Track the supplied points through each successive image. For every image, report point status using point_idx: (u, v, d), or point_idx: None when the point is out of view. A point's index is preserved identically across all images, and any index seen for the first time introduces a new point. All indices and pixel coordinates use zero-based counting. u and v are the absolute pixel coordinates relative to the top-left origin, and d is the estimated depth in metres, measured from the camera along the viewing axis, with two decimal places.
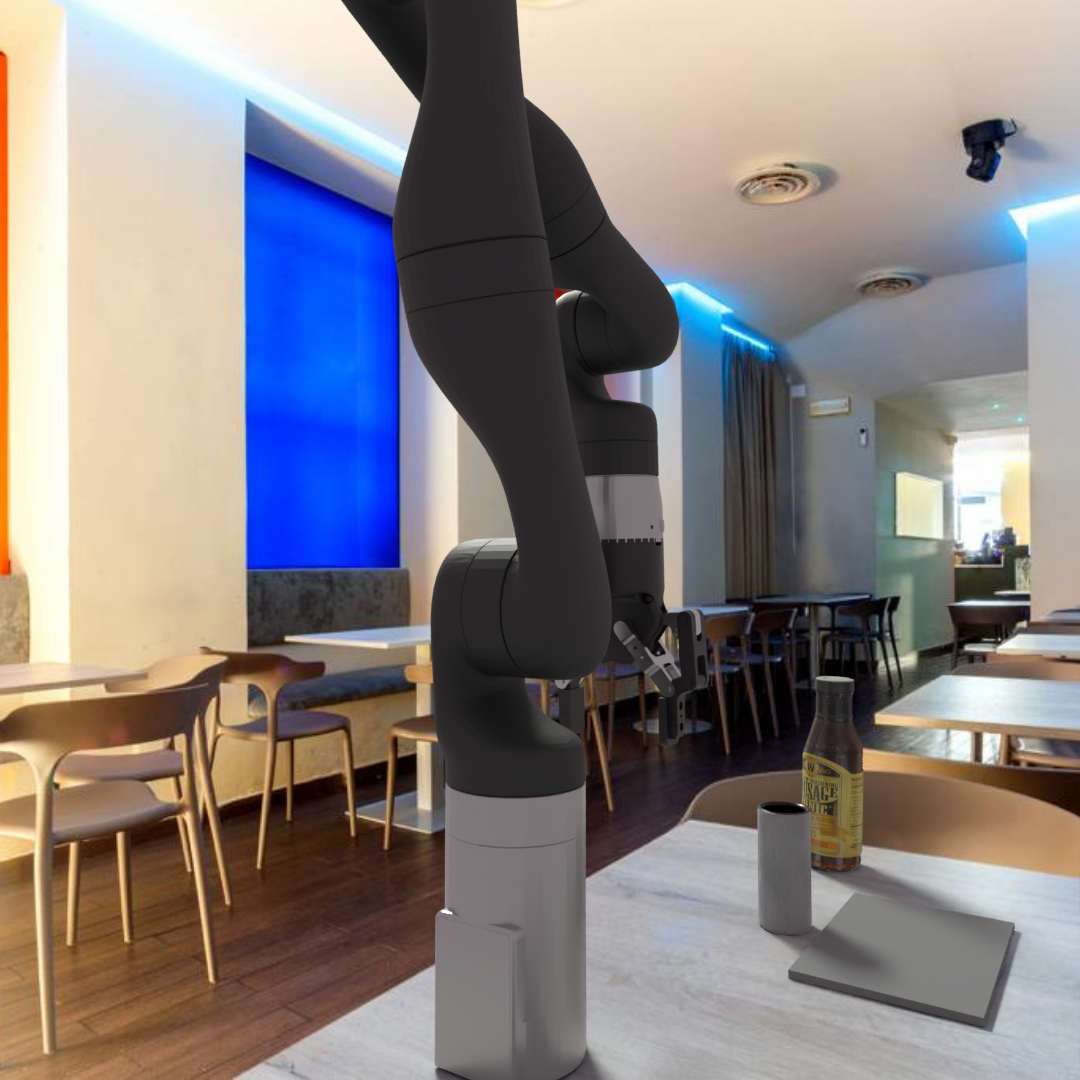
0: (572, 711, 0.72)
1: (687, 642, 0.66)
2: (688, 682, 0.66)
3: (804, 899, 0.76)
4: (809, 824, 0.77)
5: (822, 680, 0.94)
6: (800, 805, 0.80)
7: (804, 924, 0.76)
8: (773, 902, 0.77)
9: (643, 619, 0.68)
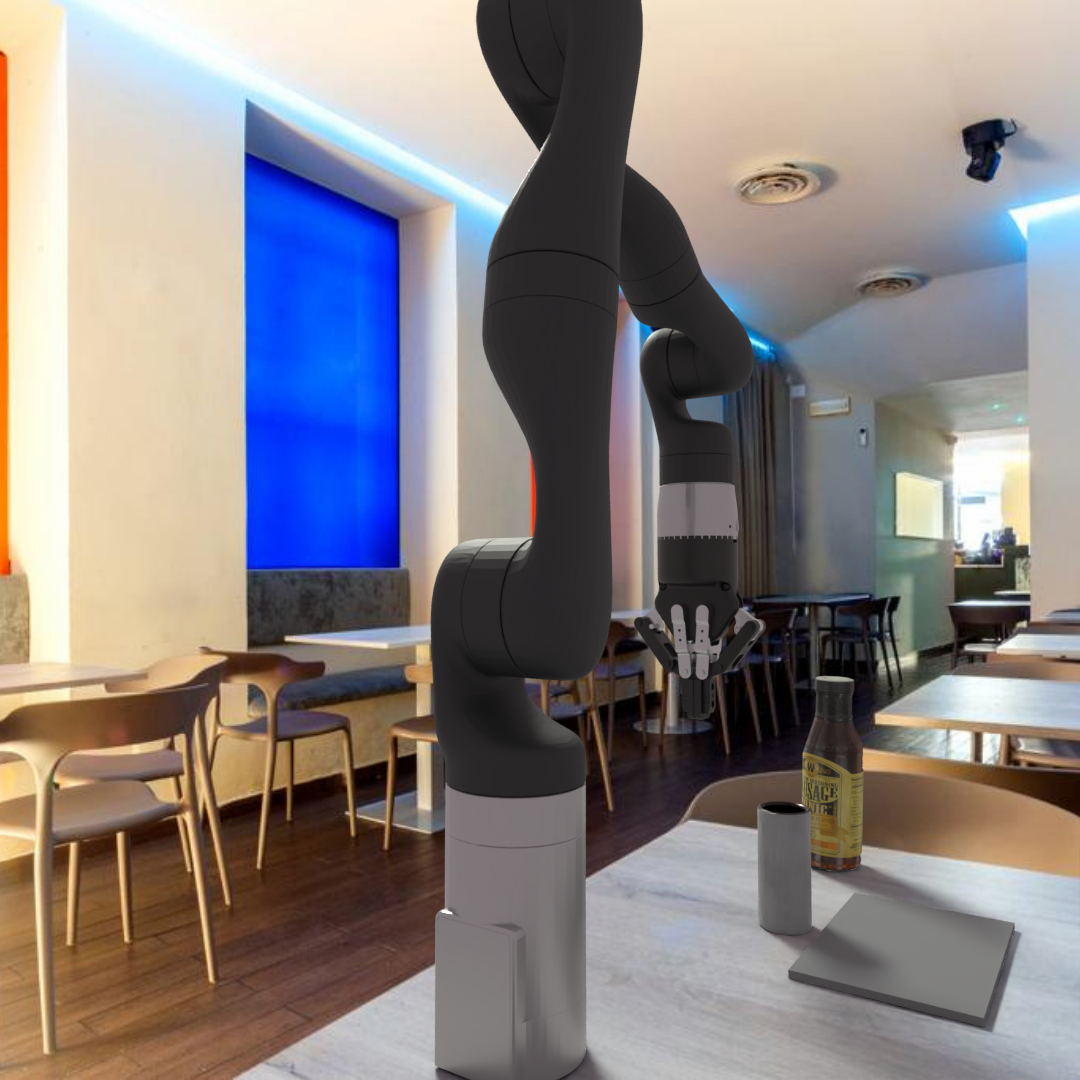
0: (694, 698, 0.83)
1: (740, 642, 0.80)
2: (719, 667, 0.81)
3: (804, 899, 0.76)
4: (809, 824, 0.77)
5: (822, 680, 0.94)
6: (800, 805, 0.80)
7: (804, 924, 0.76)
8: (773, 902, 0.77)
9: (722, 602, 0.81)
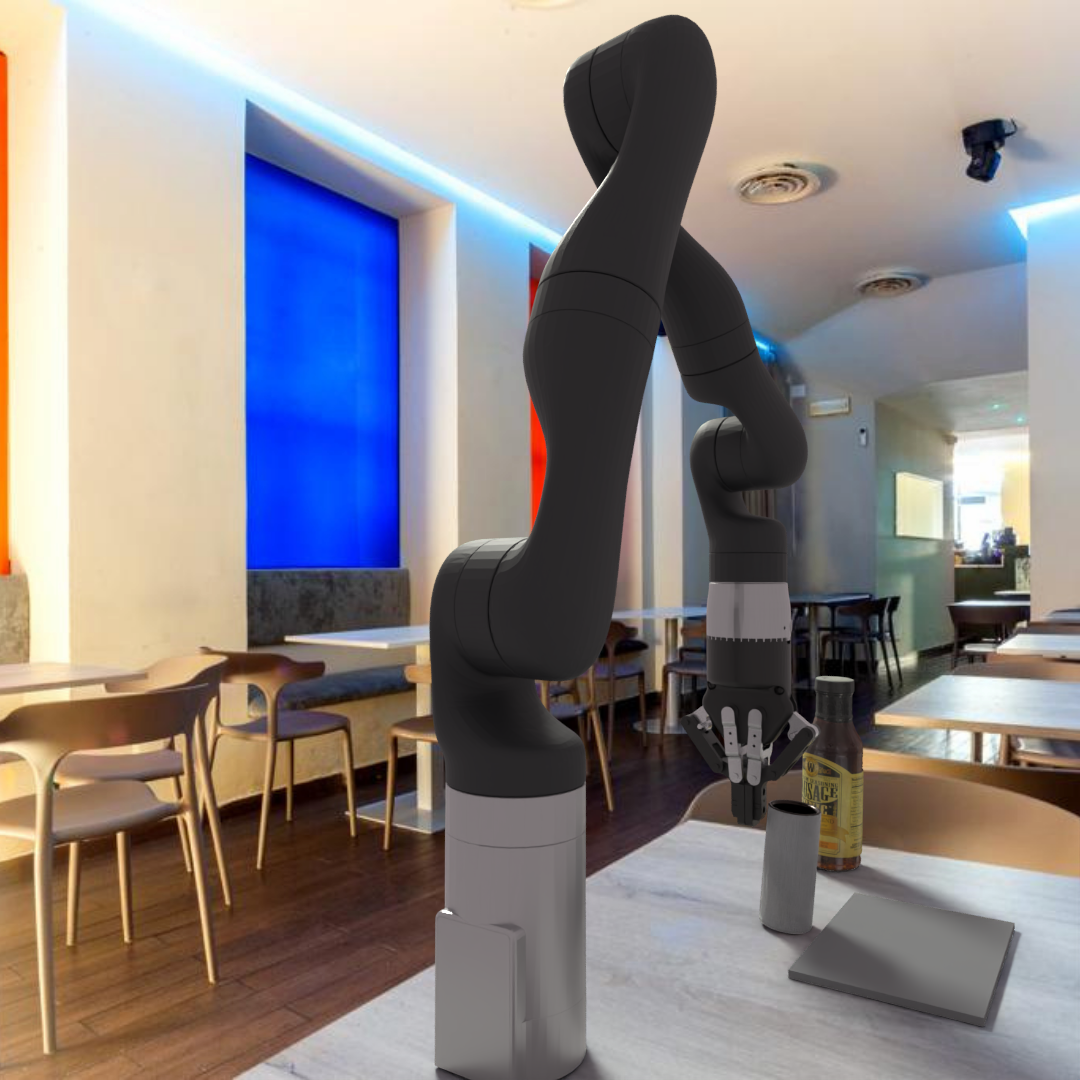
0: (745, 803, 0.80)
1: (795, 750, 0.77)
2: (773, 774, 0.78)
3: (807, 899, 0.76)
4: (819, 826, 0.77)
5: (822, 680, 0.94)
6: (811, 806, 0.79)
7: (805, 924, 0.76)
8: (776, 900, 0.77)
9: (776, 706, 0.79)
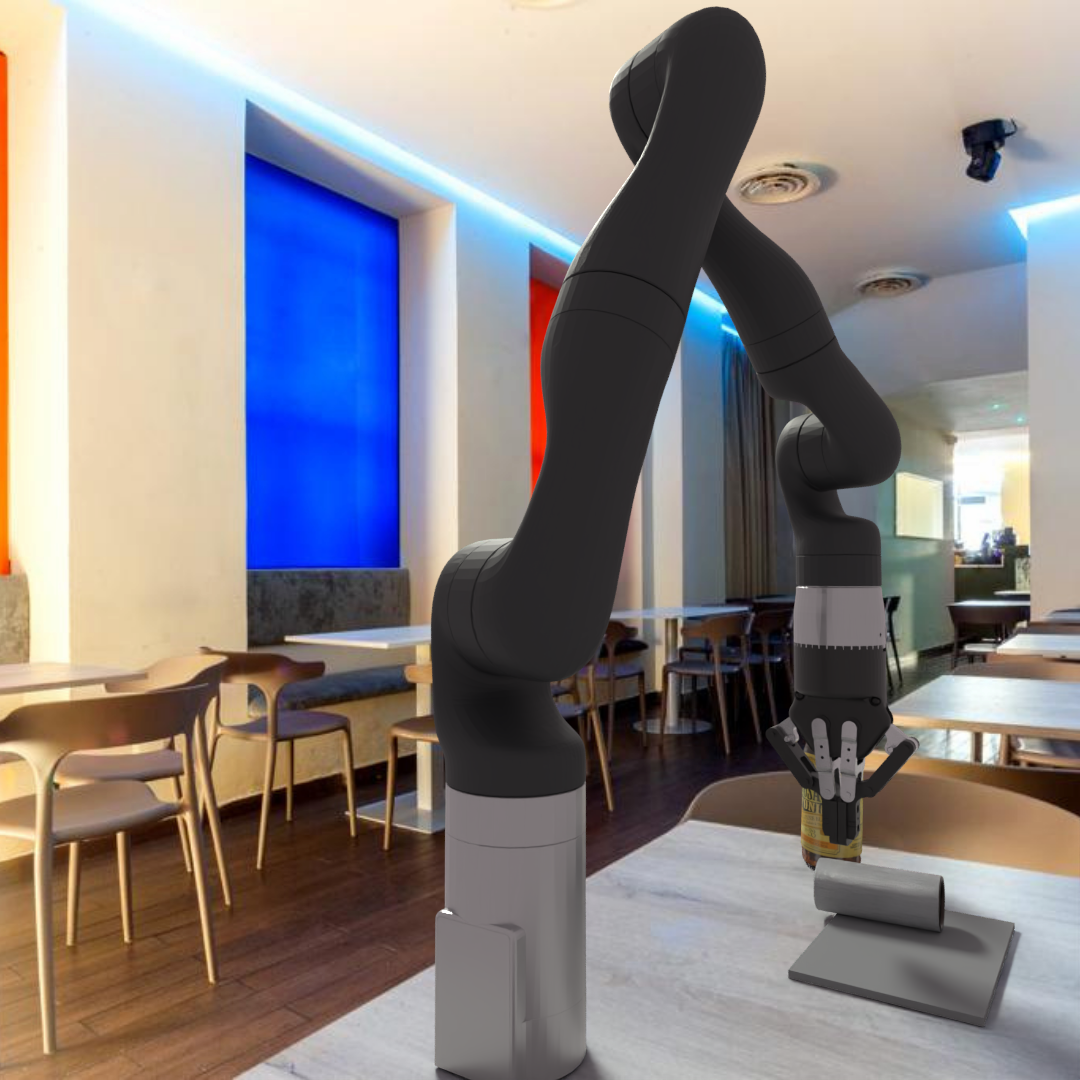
0: (838, 821, 0.75)
1: (893, 764, 0.73)
2: (869, 790, 0.73)
3: (848, 880, 0.78)
4: (924, 905, 0.74)
5: None
6: None
7: (823, 875, 0.79)
8: None
9: (872, 718, 0.74)
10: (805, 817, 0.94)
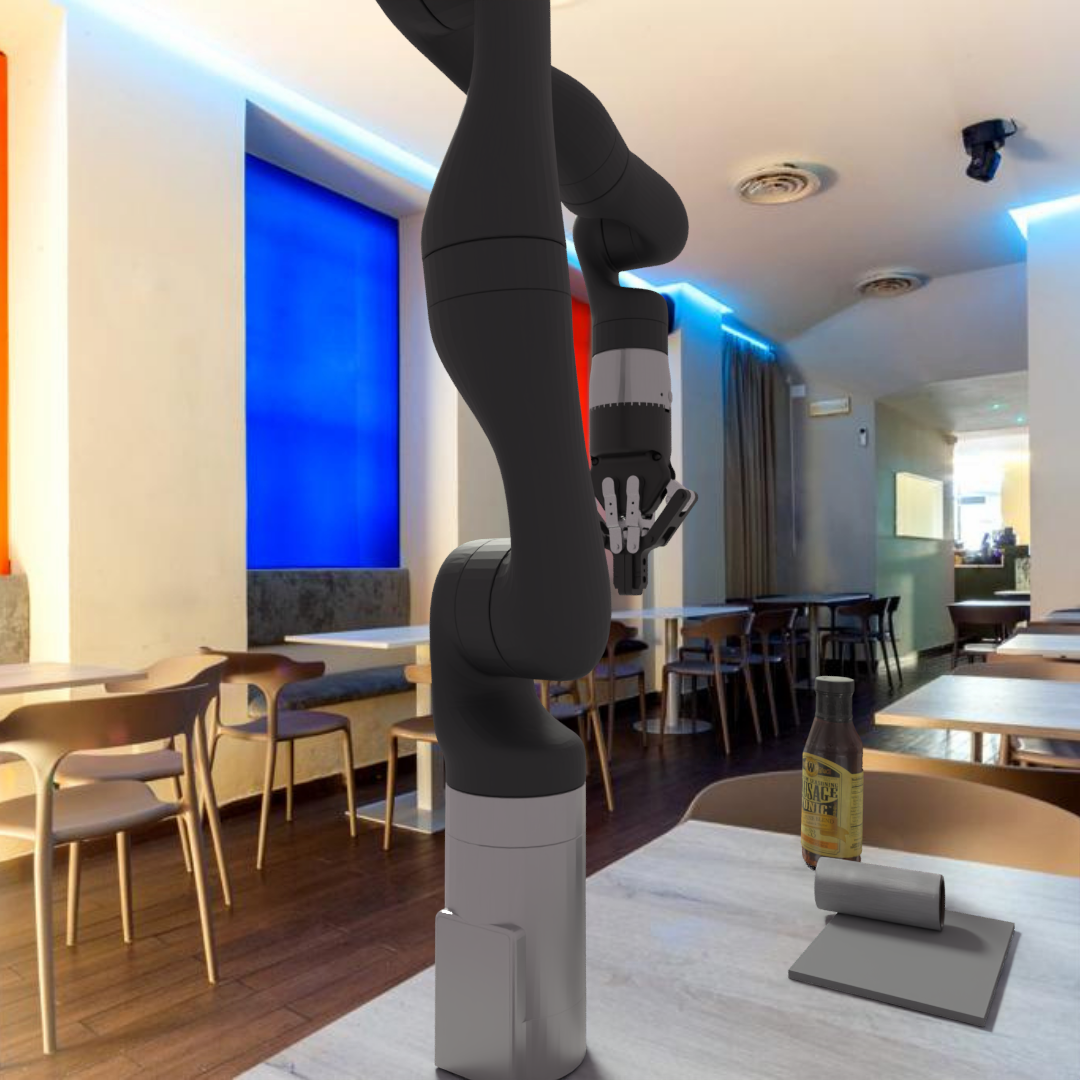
0: (625, 573, 0.81)
1: (670, 512, 0.78)
2: (650, 538, 0.79)
3: (849, 876, 0.78)
4: (924, 900, 0.75)
5: (822, 680, 0.94)
6: None
7: (824, 871, 0.79)
8: None
9: (653, 472, 0.79)
10: (805, 817, 0.94)
